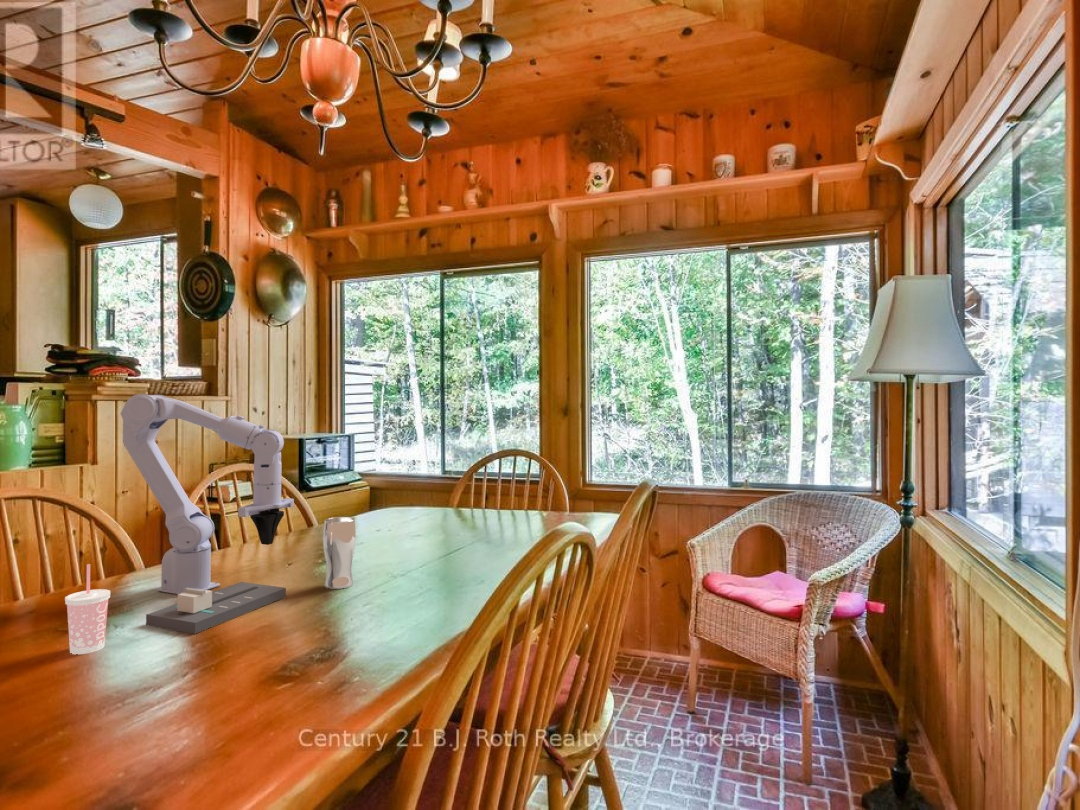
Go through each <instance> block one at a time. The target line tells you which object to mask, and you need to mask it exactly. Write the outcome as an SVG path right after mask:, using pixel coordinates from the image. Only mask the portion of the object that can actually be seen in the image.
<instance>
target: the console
mask: <svg viewBox="0 0 1080 810" xmlns="http://www.w3.org/2000/svg"><path fill="white" fill-rule="evenodd" d="M284 597H285V598H287V587H284V586H283V587H282V586H275V585H268V584H267V585H266V584H262V583H252V582H245V581H240V582H238V583H234V584H231V585H229V586H225V587H223V588H220V589H219V588H218V589H217V590H213V591H212V607H210V608H207V609H204V610H201V611H199V612H196V613H188V612H182V611H177V603H175V604H173V605H171V606H170V605H169V606H167V607H163V608H161V609H158V610H155V611H153V612H150V613H147V614H145V616H146V617H145V626H147V625H149V626H148V627H154V628H158V627H160V628H159V629H165V630H169V629H170V631H177V632H180V631H181V632H180V633H187V634H192V635H197V634H199V633H201V631H202V632H204V631H207V630H209V629H211V628H210V627H212V628H214V627H216V626H215V625H217V626H218V624H219V625H221V624H224V623H226V622H229V621H231V620H233V618H234V619H236V618H238V616H239V617H241V616H244V615H246V614H248V613H250V611H251V612H253V611H255V609H256V610H258V609H261V608H263V607H265V605H266V606H267V604H268V605H270V603H271V604H273V603H275V602H274V601H276V602H278V601H280V600H283V599H285V598H284ZM282 598H283V599H282ZM279 599H280V600H279ZM277 600H278V601H277ZM272 602H273V603H272ZM262 606H263V607H262ZM260 607H261V608H260ZM245 613H246V614H245ZM243 614H244V615H243ZM235 617H236V618H235ZM230 619H231V620H230ZM228 620H229V621H228ZM225 621H226V622H225ZM223 622H224V623H223ZM220 623H221V624H220ZM213 626H214V627H213ZM208 628H209V629H208ZM206 629H207V630H206ZM203 630H204V631H203ZM198 632H199V633H198ZM196 633H197V634H196Z"/></svg>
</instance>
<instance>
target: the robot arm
mask: <svg viewBox="0 0 1080 810" xmlns="http://www.w3.org/2000/svg"><path fill="white" fill-rule="evenodd" d="M120 416H121V418H122V443H123V445H124V447H125V450H126V452H128V455H130V458H131V459H132V460H133V462H134V464H135V466H136V467H137V469H138V470H139V472H140V474H141V476H142V478H143V479H144V480H145V482H146V484H147V485H148V487H149V489H150V491H151V493H153V495H154V497H155V499H156V500H157V502H158V504H159V506H160V507H161V509H162V511H163V512H164V514H165V526H166V528H167V531H168V537H169V538H168V540H169V543H170V545H171V546H172V547H171V548H169V550H167V551H166V552H165V553H164V554H163V557H162V560H161V581H160V582H161V584H160V585H161V586H160V587H158V588H157V591H158V592H164V593H169V594H176V595H178V594H181V593H184V589H186V588H194V589H203V590H211V589H214V588H217V587H219V586H221V583H219V582H213V581H212V582H211V579H212V578H211V576H212V574H211V572H212V569H211V568H212V563H211V562H212V543H211V542H210V538H211V537H212V536H213V535H214V533H215V524H214V521H213V520H212V518H211V517H209V516H207V515H205V514H204V513H203V511H202V510H201V509H200V507H199V506H197V505H196V504H194V503H193V502H191V500H190V498H189V497H188V495H187V493H186V491H185V489H184V488H183V486H182V485H181V483H180V481H179V480H178V477H177V476H176V475H175V473H174V471H173V470H172V468H171V466H170V464H169V463H168V461H167V459H166V458H165V456H164V454H163V452H162V451H161V449H160V448H159V445H158V444H157V443H156V438H157V435H158V433H159V431H160V429H161V428H162V426H164V425H165V424H166V423H167V421H168V420H178V419H180V420H182V421H185V422H189V423H191V424H195V425H197V426H200V427H204V428H206V429H209V430H212V431H215V432H217V434H218V437H219V439H220V440H222V441H225V442H227V443H230V444H232V445H236V446H238V447H240V448H243V449H245V450H248V451H249V450H251V451H252V453H254V454H253V455H254V463H253V499H252V500H253V502H252V503H250V504H247V505H244V506H241V507H238V508H237V511H238V512H237V513H238V514H237V517H239V518H248V517H249V516H250V517H249V518H250V519H251V520H252V522H253V523H254V526H255V528H256V530H257V532H258V537H259V540H260V544H261V545H266V546H269V545H272V544H273V543H274V539H275V537H276V534H277V533H276V532H277V529H278V527H279V524H280V522H281V520H282V519H283V517H284V516H285V512H284V511H283V510H282V509H286V508H294V507H295V506H294V505H295V504H294V502H295V500H294V499H295V498H289V497H288V498H282V472H283V471H282V464H283V463H282V450H283V448H284V444H285V439H284V437H283V435H282V434H281V433H280V432H278V430H277V431H276V430H275V429H274V428H273V429H271V428H269V429H266V425H263V424H260V425H258V424H255V423H254V422H253V423H252V422H250V421H248V420H245V417H244V416H242V415H236V416H234V415H230V416H227V417H225V418H224V417H221V416H219V415H217V414H215V413H213V412H209V411H207V410H204V409H203V408H200V407H197V406H195V405H193V404H191V403H188V402H186V401H184V400H179V399H177V398H173V397H172V398H171V397H168V396H165V395H164V394H145V393H137V394H133V396H130V397H129V398H128V399H127V400H126V402H125V404H124V405H123V408H122V409H121V411H120Z"/></svg>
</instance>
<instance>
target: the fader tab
mask: <svg viewBox="0 0 1080 810" xmlns="http://www.w3.org/2000/svg"><path fill="white" fill-rule="evenodd" d="M212 592H213V590H210V589H208V590H203V589H194V588H186V589H184V593H181V594H177V603H176V604H177V611H182V612H188V613H196V612H199V611H201V610H204V609H207V608H210V607H212Z"/></svg>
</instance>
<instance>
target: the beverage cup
mask: <svg viewBox="0 0 1080 810" xmlns="http://www.w3.org/2000/svg"><path fill="white" fill-rule="evenodd" d="M85 589H86V590H82V591H78V592H73V593H71V594H68V595H67V596H65V597H64V601H65V603H64V604H65V605H66V608H67V609H66V612H67V623H68V624H67V625H68V626H67V627H68V640H69V642H68V643H69V654H71V653H72V654H71V655H76V654H78V655H86V654H91V653H95V652H97V651H100V650H102V649H103V648H105V643H106V642H105V641H106V632H107V631H106V630H107V618H108V608H109V607H108V605H109V599H110V598H111V590H110V589H104V588H98V589H91V564H90V563H88V564H86V588H85Z"/></svg>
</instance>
